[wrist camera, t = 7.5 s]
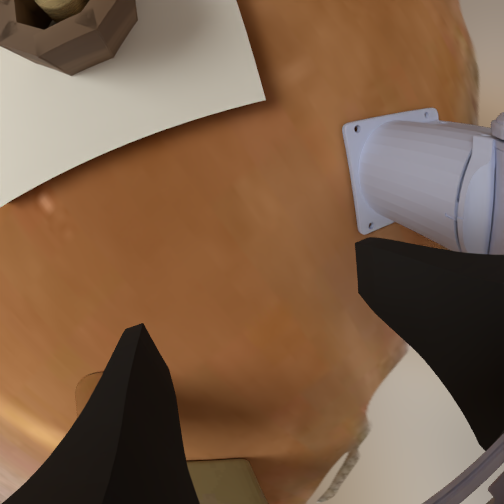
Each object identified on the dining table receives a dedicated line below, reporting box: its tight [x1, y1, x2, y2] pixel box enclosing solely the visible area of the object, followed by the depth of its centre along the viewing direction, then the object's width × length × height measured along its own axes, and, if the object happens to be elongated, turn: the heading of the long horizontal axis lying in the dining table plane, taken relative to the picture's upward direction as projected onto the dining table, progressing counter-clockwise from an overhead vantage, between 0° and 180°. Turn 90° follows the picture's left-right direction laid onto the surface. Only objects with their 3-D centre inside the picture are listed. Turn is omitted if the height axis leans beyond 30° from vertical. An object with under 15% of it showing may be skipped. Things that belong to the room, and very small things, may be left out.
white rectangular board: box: [0, 0, 266, 207], centre depth 12 cm, size 16×13×2 cm
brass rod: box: [35, 0, 89, 24], centre depth 9 cm, size 2×2×6 cm
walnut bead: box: [0, 0, 138, 76], centre depth 8 cm, size 6×6×5 cm
